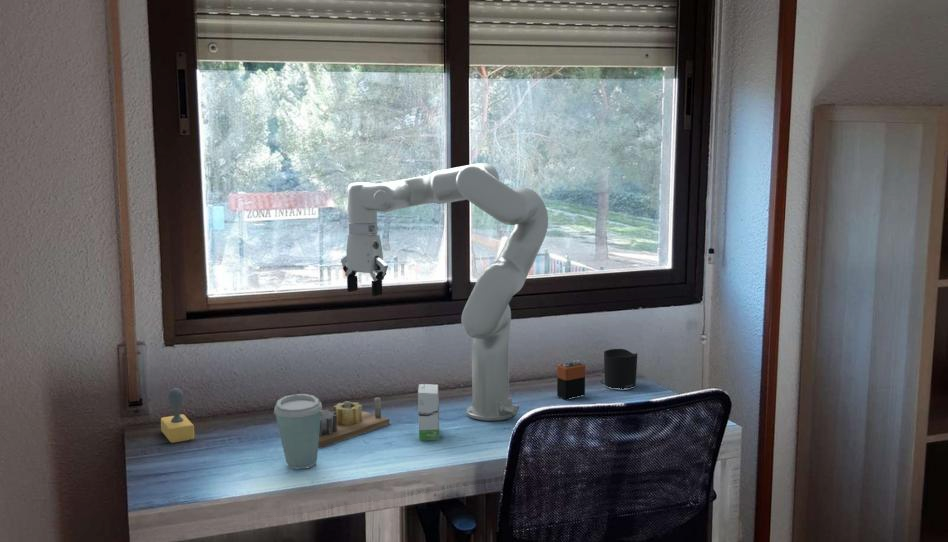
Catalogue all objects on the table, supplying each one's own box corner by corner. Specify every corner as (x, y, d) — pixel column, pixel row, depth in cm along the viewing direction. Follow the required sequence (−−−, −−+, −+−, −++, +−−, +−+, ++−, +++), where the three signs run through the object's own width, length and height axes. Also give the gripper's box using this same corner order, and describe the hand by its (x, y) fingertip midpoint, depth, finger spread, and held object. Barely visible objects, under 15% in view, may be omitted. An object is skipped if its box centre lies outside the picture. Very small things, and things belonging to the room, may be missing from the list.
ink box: (439, 440, 225) (438, 393, 224) (418, 441, 225) (417, 393, 223) (439, 428, 234) (438, 382, 232) (419, 429, 234) (418, 383, 232)
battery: (585, 396, 260) (586, 361, 258) (566, 400, 256) (566, 365, 255) (575, 392, 263) (576, 358, 262) (556, 396, 260) (556, 361, 258)
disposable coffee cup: (329, 469, 207) (326, 403, 205) (280, 476, 204) (277, 409, 201) (319, 453, 217) (317, 390, 215) (272, 459, 214) (269, 396, 211)
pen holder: (603, 390, 265) (603, 356, 264) (604, 381, 274) (604, 348, 273) (636, 392, 264) (637, 357, 262) (636, 382, 273) (637, 349, 271)
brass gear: (346, 427, 231) (346, 411, 230) (328, 421, 235) (328, 406, 235) (367, 420, 236) (367, 405, 235) (349, 415, 240) (349, 400, 240)
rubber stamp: (194, 439, 228) (192, 391, 226) (170, 443, 225) (167, 395, 223) (184, 427, 237) (182, 381, 235) (161, 431, 234) (158, 385, 232)
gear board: (389, 424, 237) (388, 398, 236) (321, 447, 221) (320, 420, 220) (354, 414, 246) (354, 389, 245) (286, 435, 230) (285, 409, 229)
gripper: (396, 230, 245) (397, 294, 248) (352, 225, 257) (353, 287, 259) (374, 233, 240) (376, 299, 242) (330, 228, 251) (332, 291, 254)
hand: (364, 293), depth 251 cm, fingers open, 9 cm apart
